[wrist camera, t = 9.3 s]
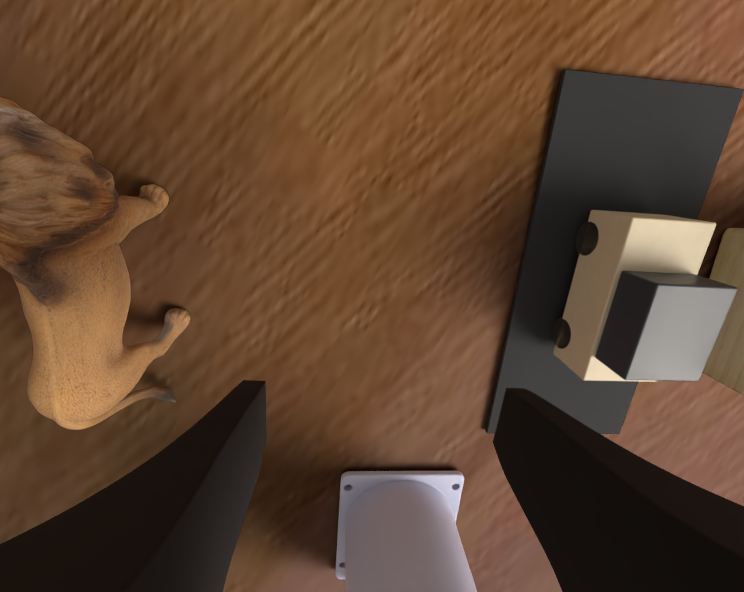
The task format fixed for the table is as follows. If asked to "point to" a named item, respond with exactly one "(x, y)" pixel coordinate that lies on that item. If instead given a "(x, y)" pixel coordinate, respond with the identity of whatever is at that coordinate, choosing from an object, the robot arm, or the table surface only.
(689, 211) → the mat
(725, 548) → the robot arm
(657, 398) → the table surface
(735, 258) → the toy sofa
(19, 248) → the lion figurine
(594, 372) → the toy car
